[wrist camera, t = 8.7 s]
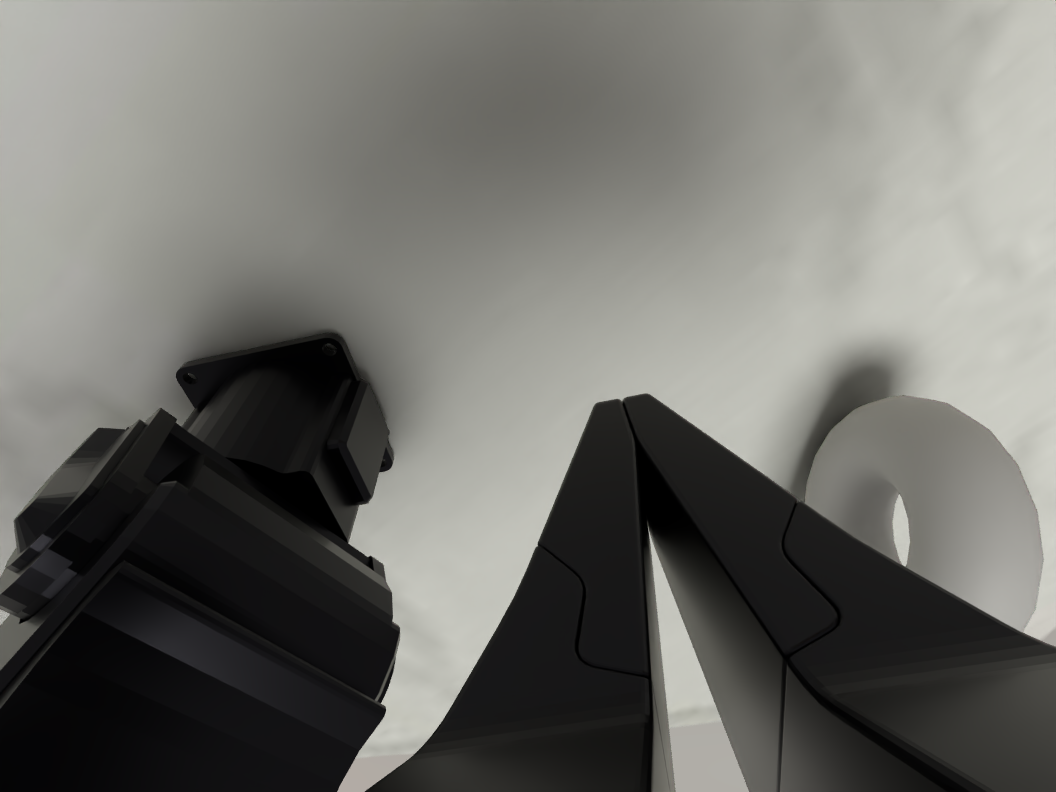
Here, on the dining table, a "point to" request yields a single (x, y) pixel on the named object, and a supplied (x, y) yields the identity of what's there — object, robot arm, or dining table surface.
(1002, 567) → the donut
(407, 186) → the dining table surface
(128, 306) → the dining table surface
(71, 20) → the dining table surface
